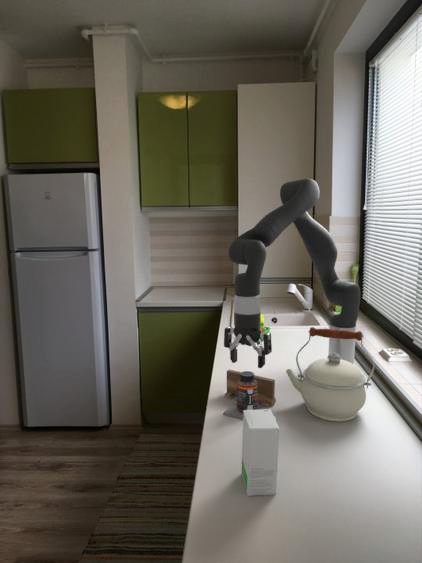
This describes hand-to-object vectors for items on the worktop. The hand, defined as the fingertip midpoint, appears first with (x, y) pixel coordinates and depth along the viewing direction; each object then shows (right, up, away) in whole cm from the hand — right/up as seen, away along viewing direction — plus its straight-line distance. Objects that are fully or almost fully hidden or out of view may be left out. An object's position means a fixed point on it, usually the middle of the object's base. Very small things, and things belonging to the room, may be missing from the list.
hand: (247, 364), depth 123 cm
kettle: (+24, -14, +4) cm, 28 cm away
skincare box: (0, -20, -30) cm, 36 cm away
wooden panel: (+2, -13, +11) cm, 17 cm away
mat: (0, -14, +2) cm, 15 cm away
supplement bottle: (0, -14, +2) cm, 14 cm away
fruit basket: (+11, -2, +74) cm, 75 cm away
